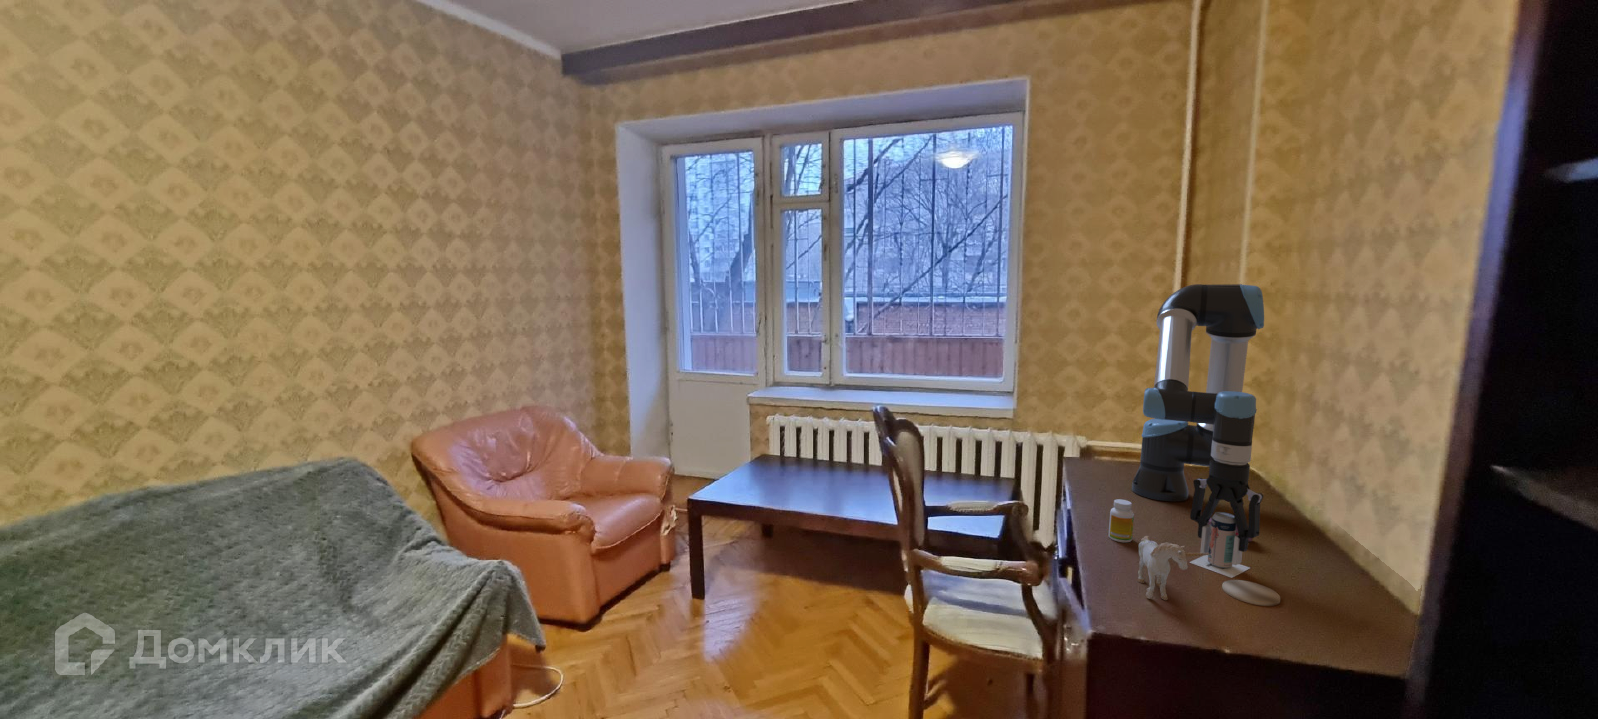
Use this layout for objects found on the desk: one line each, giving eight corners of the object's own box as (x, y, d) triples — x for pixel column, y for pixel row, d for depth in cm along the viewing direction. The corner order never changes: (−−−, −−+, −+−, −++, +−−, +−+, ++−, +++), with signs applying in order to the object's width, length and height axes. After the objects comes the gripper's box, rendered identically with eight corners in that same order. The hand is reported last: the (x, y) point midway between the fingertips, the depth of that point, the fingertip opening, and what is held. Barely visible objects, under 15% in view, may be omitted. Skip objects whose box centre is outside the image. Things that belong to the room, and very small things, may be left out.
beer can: (1210, 558, 151) (1215, 509, 150) (1234, 564, 148) (1239, 515, 146) (1205, 564, 148) (1209, 514, 146) (1229, 571, 145) (1234, 520, 143)
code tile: (1208, 553, 154) (1208, 553, 154) (1250, 568, 147) (1250, 567, 147) (1189, 562, 149) (1189, 562, 149) (1231, 577, 142) (1231, 577, 142)
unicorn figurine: (1167, 619, 125) (1173, 554, 123) (1115, 572, 144) (1119, 515, 142) (1203, 618, 125) (1210, 553, 123) (1146, 572, 144) (1151, 515, 142)
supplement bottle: (1134, 543, 160) (1137, 506, 158) (1111, 541, 161) (1114, 504, 159) (1128, 535, 165) (1131, 499, 164) (1105, 533, 166) (1108, 497, 165)
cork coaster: (1235, 578, 142) (1235, 575, 142) (1288, 597, 133) (1289, 594, 133) (1213, 590, 136) (1213, 587, 136) (1267, 610, 128) (1267, 608, 128)
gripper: (1177, 452, 151) (1169, 546, 154) (1271, 474, 135) (1260, 578, 138) (1193, 448, 155) (1185, 539, 158) (1286, 468, 139) (1275, 569, 142)
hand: (1220, 557), depth 148 cm, fingers open, 6 cm apart
